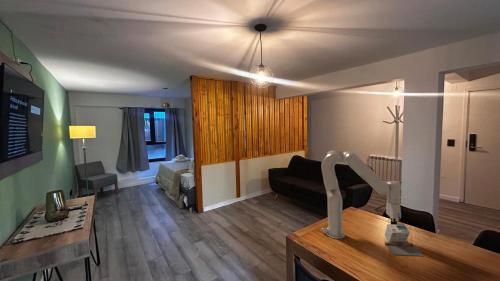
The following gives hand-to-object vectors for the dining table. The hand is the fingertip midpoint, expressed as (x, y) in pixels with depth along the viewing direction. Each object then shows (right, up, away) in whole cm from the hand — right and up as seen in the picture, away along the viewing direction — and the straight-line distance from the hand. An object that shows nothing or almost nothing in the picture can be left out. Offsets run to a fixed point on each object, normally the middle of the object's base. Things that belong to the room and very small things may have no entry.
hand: (393, 226), depth 142 cm
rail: (-1, -10, -6) cm, 11 cm away
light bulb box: (0, -8, 0) cm, 8 cm away
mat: (-2, -10, -12) cm, 15 cm away
